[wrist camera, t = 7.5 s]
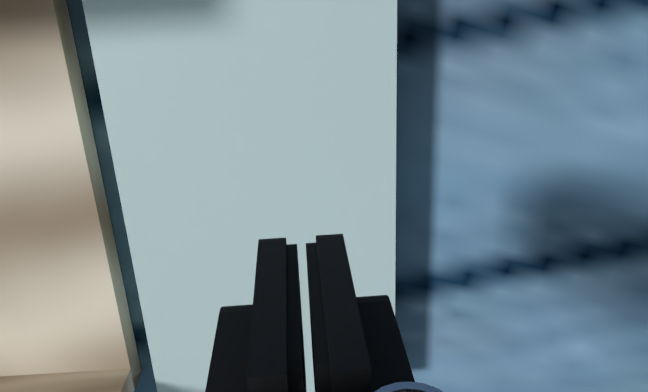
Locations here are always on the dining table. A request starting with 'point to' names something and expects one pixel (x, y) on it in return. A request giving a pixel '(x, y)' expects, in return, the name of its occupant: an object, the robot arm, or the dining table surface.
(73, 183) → the crate
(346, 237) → the tailgate
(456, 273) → the dining table surface
